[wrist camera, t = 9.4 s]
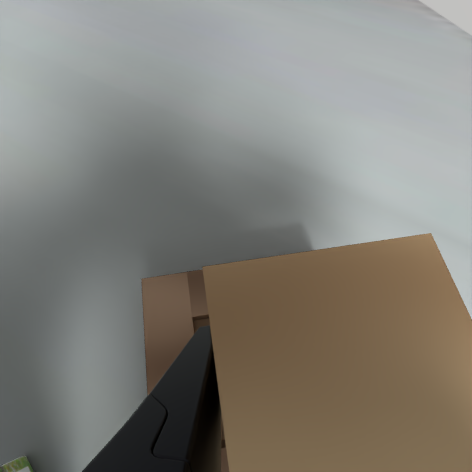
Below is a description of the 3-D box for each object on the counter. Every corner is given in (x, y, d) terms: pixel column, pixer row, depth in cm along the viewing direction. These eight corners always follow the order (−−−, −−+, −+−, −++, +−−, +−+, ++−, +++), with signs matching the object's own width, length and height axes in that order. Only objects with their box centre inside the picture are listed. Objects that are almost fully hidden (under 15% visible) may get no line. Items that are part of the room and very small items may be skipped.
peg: (305, 404, 15) (571, 529, 4) (225, 421, 14) (249, 623, 3) (286, 322, 16) (430, 233, 5) (213, 335, 16) (202, 266, 5)
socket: (379, 460, 15) (402, 474, 13) (163, 513, 14) (155, 537, 12) (319, 261, 19) (329, 249, 17) (149, 287, 18) (141, 278, 16)
